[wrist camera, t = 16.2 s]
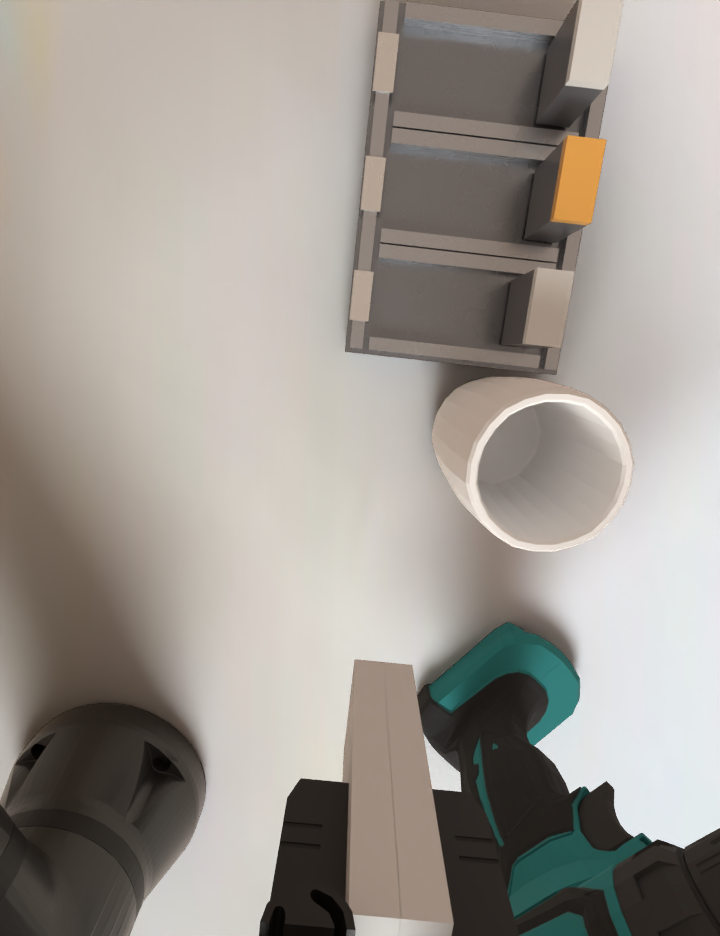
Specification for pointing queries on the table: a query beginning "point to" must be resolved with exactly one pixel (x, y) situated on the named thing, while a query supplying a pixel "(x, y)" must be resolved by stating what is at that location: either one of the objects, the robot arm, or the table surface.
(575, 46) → the block
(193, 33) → the table surface
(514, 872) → the power drill
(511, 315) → the block
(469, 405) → the cup
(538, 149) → the panel
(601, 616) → the table surface
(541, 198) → the block
